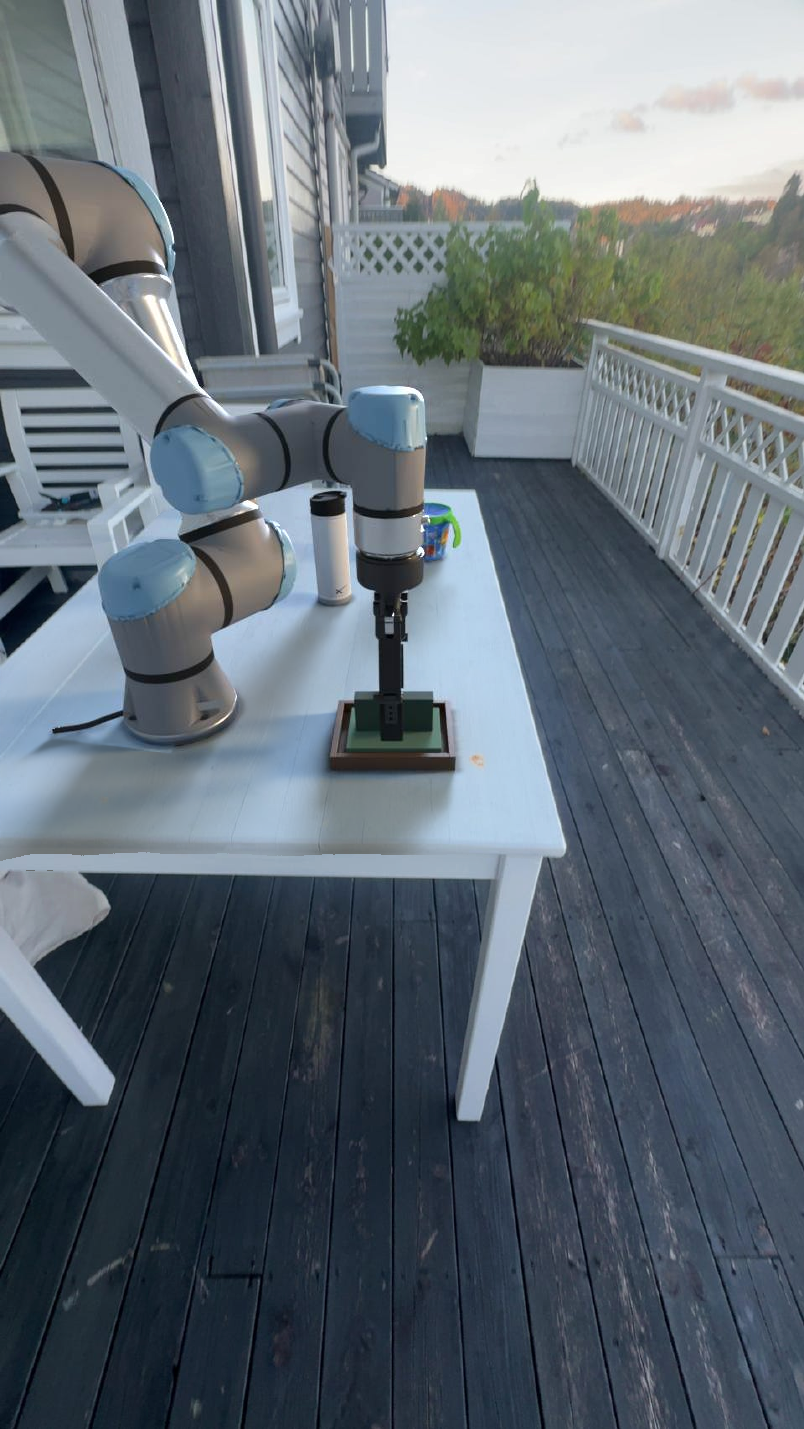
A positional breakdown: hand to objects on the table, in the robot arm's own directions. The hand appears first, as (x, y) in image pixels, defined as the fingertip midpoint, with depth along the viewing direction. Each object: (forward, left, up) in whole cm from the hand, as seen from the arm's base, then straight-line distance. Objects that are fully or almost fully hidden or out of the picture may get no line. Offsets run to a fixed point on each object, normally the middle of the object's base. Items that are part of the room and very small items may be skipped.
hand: (392, 711), depth 81 cm
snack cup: (+6, +66, -5) cm, 66 cm away
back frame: (0, 0, -4) cm, 4 cm away
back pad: (0, 0, -4) cm, 4 cm away
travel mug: (-12, +44, -5) cm, 46 cm away
